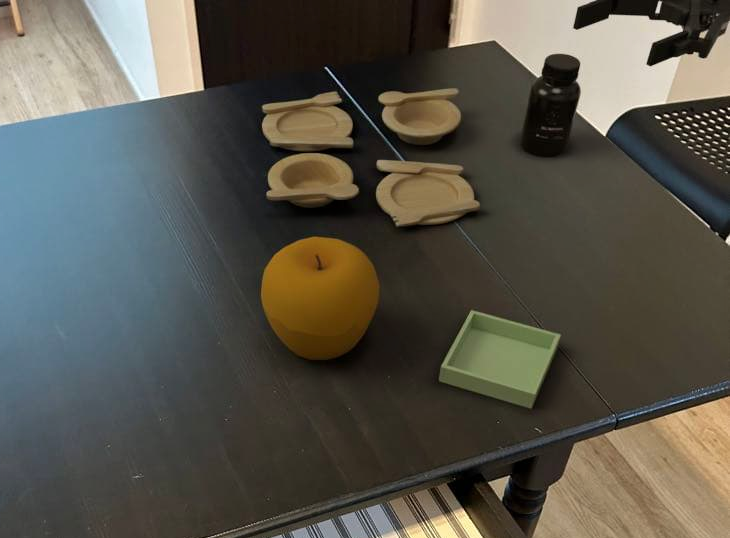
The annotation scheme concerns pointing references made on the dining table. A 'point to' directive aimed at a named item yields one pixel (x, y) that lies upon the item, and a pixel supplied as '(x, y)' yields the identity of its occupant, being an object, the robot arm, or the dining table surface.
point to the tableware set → (396, 191)
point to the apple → (320, 296)
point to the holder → (500, 358)
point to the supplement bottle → (551, 107)
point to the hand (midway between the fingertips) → (613, 36)
